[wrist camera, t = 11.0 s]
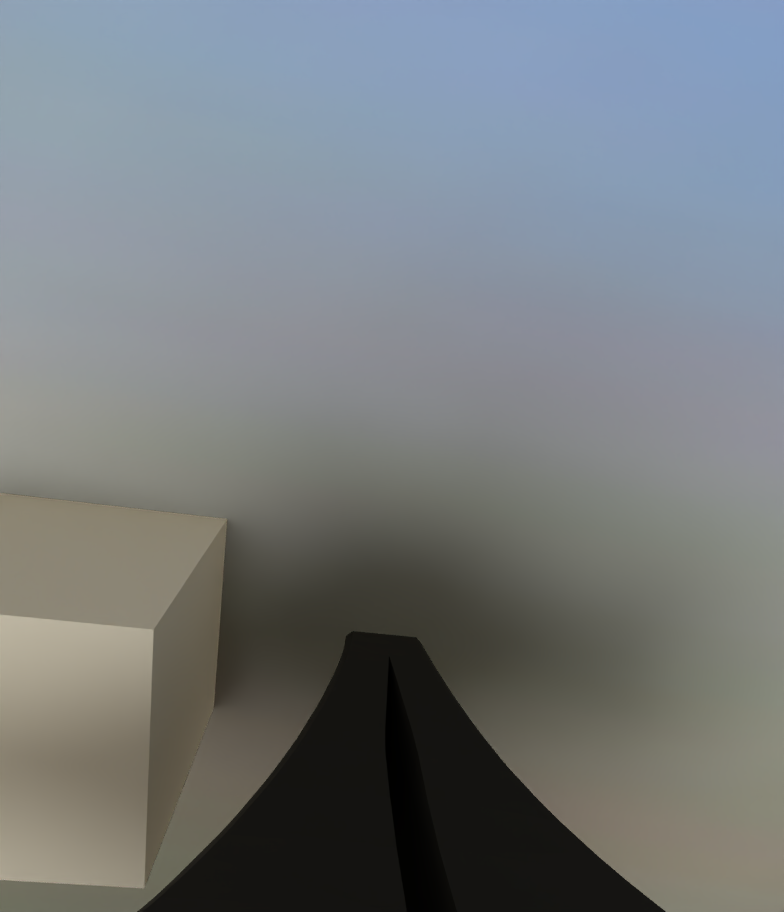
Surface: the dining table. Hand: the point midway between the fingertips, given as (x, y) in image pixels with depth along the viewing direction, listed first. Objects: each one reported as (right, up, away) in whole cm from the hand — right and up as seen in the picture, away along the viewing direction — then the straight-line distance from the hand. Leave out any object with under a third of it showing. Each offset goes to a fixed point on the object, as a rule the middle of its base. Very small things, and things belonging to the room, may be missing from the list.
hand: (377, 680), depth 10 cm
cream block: (-6, +1, +1) cm, 6 cm away
